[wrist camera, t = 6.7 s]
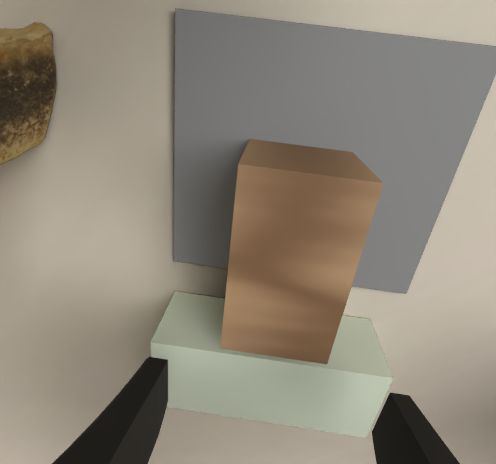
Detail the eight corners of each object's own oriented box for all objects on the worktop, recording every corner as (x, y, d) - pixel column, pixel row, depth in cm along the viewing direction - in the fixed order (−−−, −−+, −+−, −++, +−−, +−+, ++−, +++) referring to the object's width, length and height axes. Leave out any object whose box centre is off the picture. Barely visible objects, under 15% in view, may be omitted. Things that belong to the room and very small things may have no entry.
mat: (501, 48, 11) (506, 47, 10) (403, 289, 15) (406, 293, 15) (177, 10, 11) (175, 8, 11) (175, 257, 15) (173, 261, 15)
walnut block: (315, 297, 15) (352, 151, 12) (327, 364, 12) (383, 183, 9) (233, 285, 16) (249, 138, 12) (220, 348, 12) (238, 163, 9)
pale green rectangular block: (370, 319, 16) (393, 378, 13) (350, 374, 18) (366, 438, 15) (174, 291, 16) (150, 342, 13) (174, 348, 18) (152, 405, 15)
